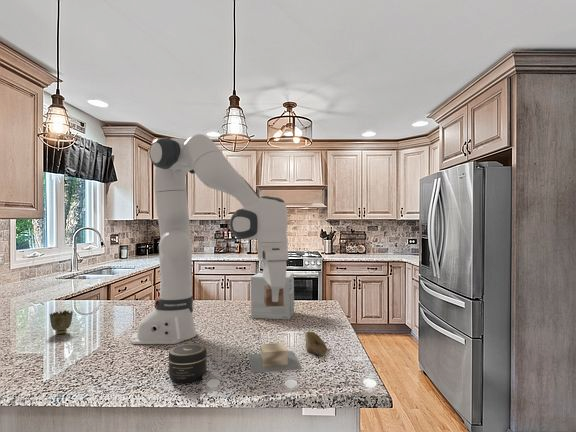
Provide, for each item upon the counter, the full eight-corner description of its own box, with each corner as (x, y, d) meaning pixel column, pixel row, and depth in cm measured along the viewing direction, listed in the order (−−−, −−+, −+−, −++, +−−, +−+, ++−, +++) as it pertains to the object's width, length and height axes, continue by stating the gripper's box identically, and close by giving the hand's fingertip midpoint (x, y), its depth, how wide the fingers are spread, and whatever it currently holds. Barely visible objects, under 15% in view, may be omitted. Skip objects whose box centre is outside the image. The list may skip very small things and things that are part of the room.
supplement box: (294, 312, 170) (294, 272, 170) (289, 320, 157) (289, 277, 157) (258, 311, 173) (257, 272, 173) (250, 318, 160) (250, 276, 160)
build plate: (252, 376, 100) (252, 372, 100) (248, 357, 114) (248, 354, 114) (302, 372, 103) (302, 368, 103) (292, 354, 117) (292, 351, 117)
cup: (77, 332, 142) (77, 311, 142) (58, 337, 135) (58, 315, 135) (64, 330, 145) (64, 309, 145) (45, 335, 138) (45, 313, 138)
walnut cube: (266, 306, 106) (266, 289, 106) (264, 302, 111) (263, 286, 111) (283, 305, 107) (283, 288, 107) (280, 302, 112) (280, 285, 112)
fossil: (307, 341, 111) (307, 325, 121) (298, 351, 112) (298, 334, 122) (330, 360, 112) (327, 342, 122) (320, 369, 113) (318, 351, 122)
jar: (204, 384, 95) (203, 355, 96) (164, 386, 95) (164, 356, 95) (209, 369, 105) (209, 342, 106) (173, 370, 105) (173, 343, 105)
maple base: (263, 366, 104) (263, 352, 104) (260, 357, 111) (260, 344, 111) (288, 364, 106) (287, 350, 106) (283, 355, 113) (283, 342, 113)
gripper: (258, 249, 118) (258, 292, 118) (266, 255, 98) (266, 307, 98) (277, 248, 120) (278, 291, 119) (289, 254, 99) (290, 306, 99)
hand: (273, 299), depth 109 cm, fingers closed on walnut cube, 5 cm apart
